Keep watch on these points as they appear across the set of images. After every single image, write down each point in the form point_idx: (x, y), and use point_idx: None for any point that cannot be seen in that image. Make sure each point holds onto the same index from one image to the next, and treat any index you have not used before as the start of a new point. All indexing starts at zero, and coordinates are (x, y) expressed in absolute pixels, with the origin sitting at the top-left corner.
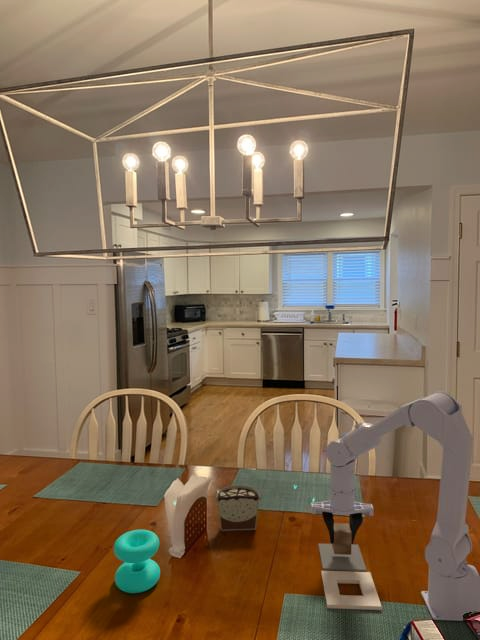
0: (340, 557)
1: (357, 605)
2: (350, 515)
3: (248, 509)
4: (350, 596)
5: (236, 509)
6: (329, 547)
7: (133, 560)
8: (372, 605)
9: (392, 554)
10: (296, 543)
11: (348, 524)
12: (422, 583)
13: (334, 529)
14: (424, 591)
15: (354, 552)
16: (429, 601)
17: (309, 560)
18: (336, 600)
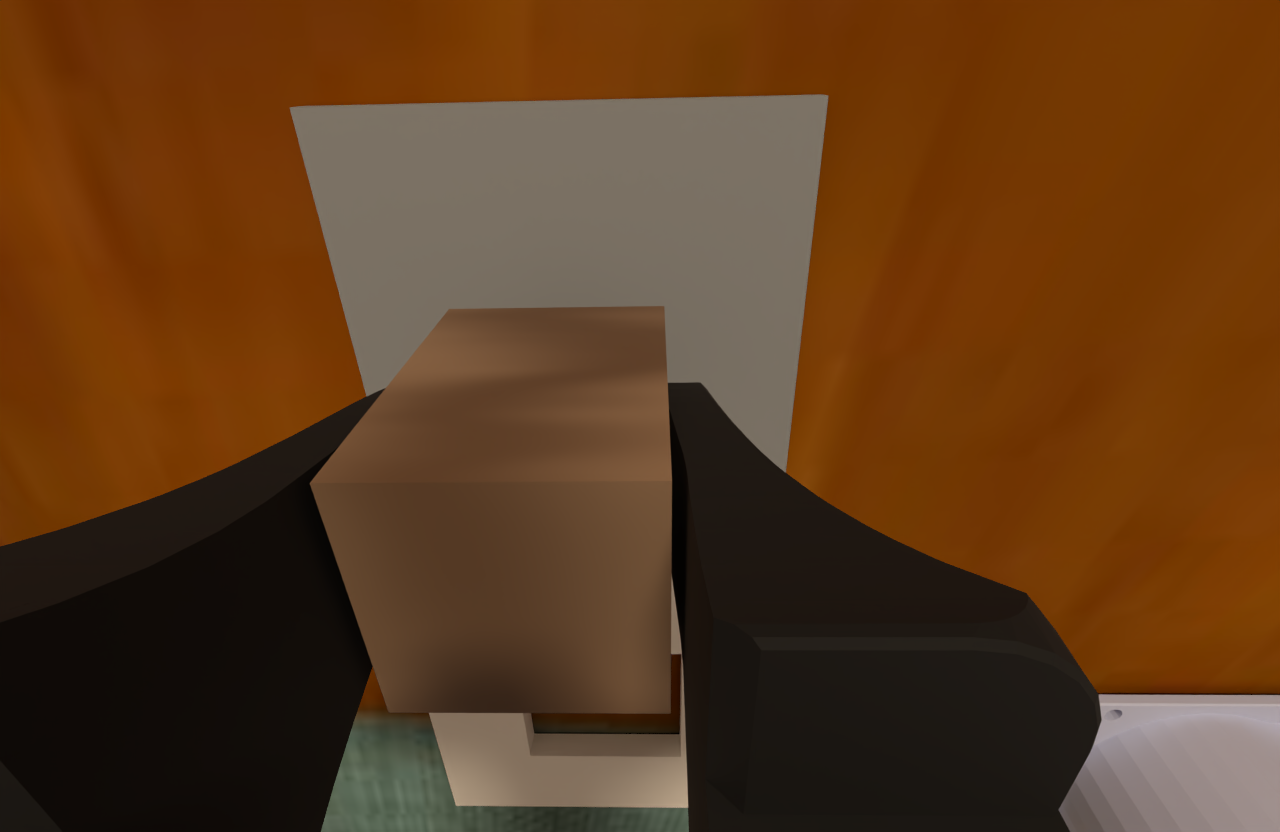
0: None
1: (627, 805)
2: (700, 790)
3: None
4: (595, 763)
5: None
6: (442, 195)
7: None
8: None
9: (1174, 250)
10: (12, 84)
11: (658, 511)
12: (1164, 610)
13: (380, 659)
14: (1109, 707)
15: (732, 282)
16: (1070, 810)
17: (265, 402)
18: (508, 784)
